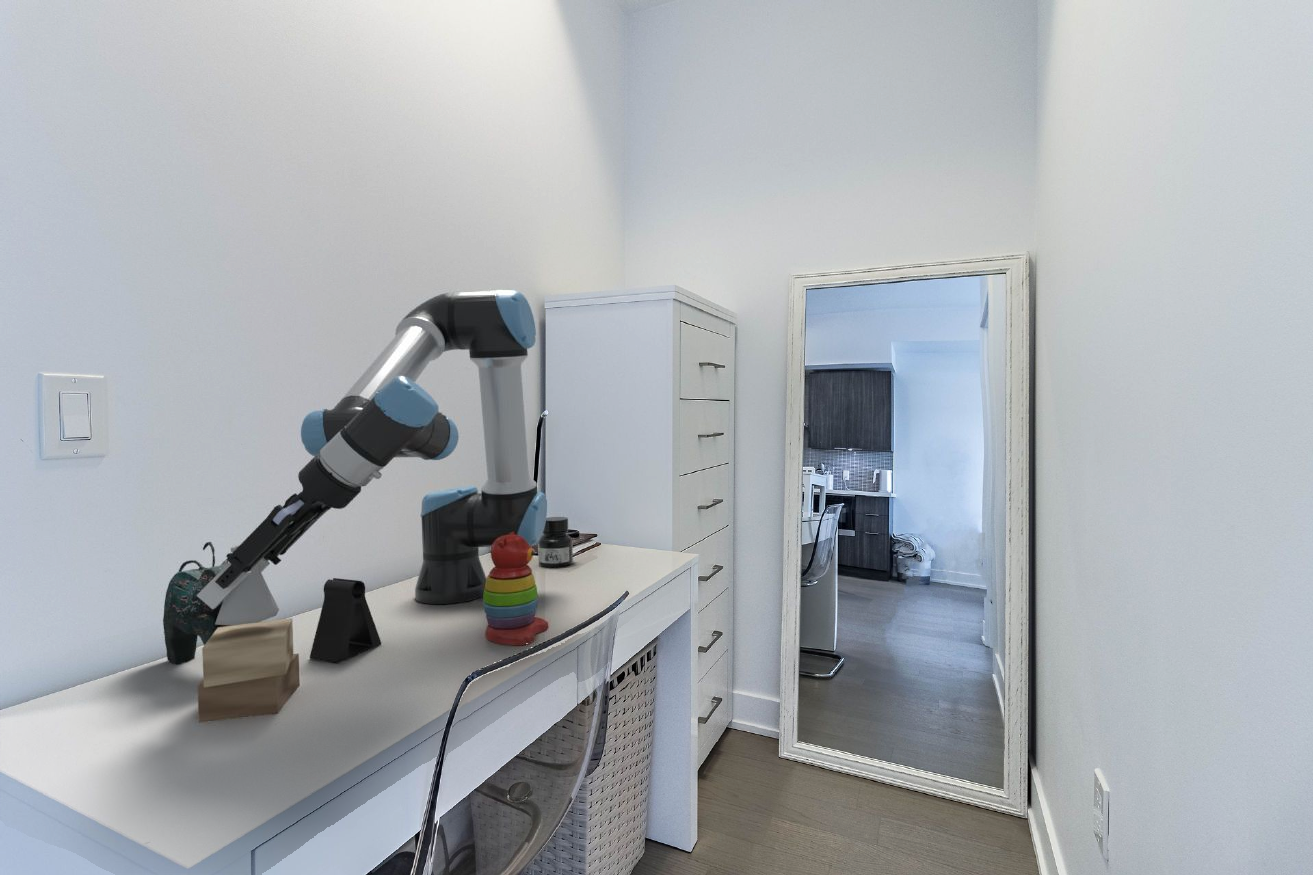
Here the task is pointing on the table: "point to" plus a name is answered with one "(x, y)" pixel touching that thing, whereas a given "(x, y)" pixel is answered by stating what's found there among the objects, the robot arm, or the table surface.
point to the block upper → (248, 652)
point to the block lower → (248, 696)
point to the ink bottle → (555, 544)
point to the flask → (248, 601)
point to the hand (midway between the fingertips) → (217, 596)
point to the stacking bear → (511, 593)
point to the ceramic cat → (189, 611)
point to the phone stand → (344, 623)
